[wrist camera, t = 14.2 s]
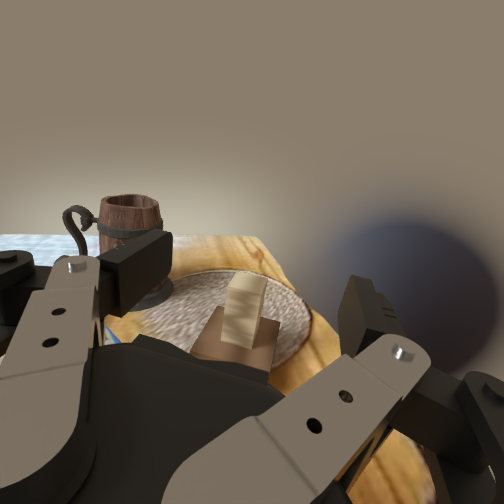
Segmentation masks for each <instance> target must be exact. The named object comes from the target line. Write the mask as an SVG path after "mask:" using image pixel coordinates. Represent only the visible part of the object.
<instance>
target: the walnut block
mask: <svg viewBox="0 0 504 504" xmlns="http://www.w3.org/2000/svg"><path fill="white" fill-rule="evenodd" d="M224 309H225V307H221V306H217V307H216V309H215V310H214V312H213V314H212V315H211V317H210V318H209V320H208V322H207V323H206V325H205V327H204V328H203V330H202V332H201V333H200V335H199V336H198V338H197V340H196V341H195V343H194V345H193V346H192V348H191V349H190V355H192V356H194V357H196V358H198V359H203V360H215V361H228V362H237V363H241V364H244V365H247V366H251V367H254V368H258V369H261V370H264V371H268V372H269V375H270V370H271V365H272V361H273V356H274V351H275V346H276V341H277V337H278V332H279V327H280V322H279V321H275V320H271V319H267V318H263V317H260V322H259V328H258V331H257V334H256V337H255V340H254V343H253V346H252V349H249V348H245V347H242V346H238V345H235V344H231V343H228V342H224V341H221V334H222V326H223V317H224ZM268 379H269V377H268ZM267 383H268V382H267Z"/></svg>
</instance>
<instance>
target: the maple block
mask: <svg viewBox="0 0 504 504" xmlns="http://www.w3.org/2000/svg"><path fill="white" fill-rule="evenodd" d="M267 281H268V278H265V277H261V276H256V275H252V274H248V273H244V272H240V271H237V272H236V274H235V275H234V277H233V278H232V280H231V281H230V283H229V284H228V286H227V293H226V301H225V309H224V317H223V326H222V334H221V341H224V342H228V343H231V344H235V345H238V346H242V347H245V348H249V349H252V346H253V343H254V340H255V337H256V334H257V331H258V328H259V322H260V317H261V312H262V307H263V302H264V296H265V291H266V286H267Z"/></svg>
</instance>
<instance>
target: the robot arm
mask: <svg viewBox="0 0 504 504" xmlns="http://www.w3.org/2000/svg"><path fill="white" fill-rule="evenodd" d="M172 249H173V236H172V233H171V232H167V231H163V230H158V229H153V230H151V231H149V232H147V233H145V234H144V235H142V236H140V237H136V238H132V239H129V240H127V241H125V242H123V243H122V244H120V245H118V246H116V247H115V248H112V249H110V250H108V251H107V252H105V253H103V254H101V255H99V256H97V257H92V256H84V255H81V256H71V257H67V258H63V259H61V260H59V261H57V262H56V263H55V264H54V265H53V267H51V266H35V265H34V260H33V255H32V254H31V253H29V252H27V251H22V250H8V251H0V357H1V356H3V355H4V354H5V356H4V358H3V361H2V363H1V365H0V504H353V503H352V501H351V500H350V498H349V496H348V495H347V494H348V493H349V491H350V490H351V488H352V487H353V485H354V484H355V482H356V481H357V479H358V477H359V476H360V474H361V473H362V471H363V470H364V469H365V467H366V466H367V464H368V463H369V462H370V460H371V459H372V458H373V456H374V455H375V454H376V452H377V451H378V450H379V448H380V447H381V446H382V444H383V443H384V442H385V440H386V439H387V437H388V436H389V435H390V433H391V432H392V431H393V429H395V430H397V431H399V432H400V433H402V434H404V435H406V436H407V437H409V438H411V439H412V440H414V441H416V442H417V443H419V444H421V445H423V448H424V451H425V455H426V458H427V462H428V465H429V469H430V473H431V476H432V480H433V483H434V487H435V490H436V494H437V497H438V501H439V504H504V382H503V381H501V380H499V379H497V378H495V377H493V376H491V375H488V374H486V373H482V372H477V371H471V372H468V373H466V375H465V376H464V378H463V379H462V381H461V380H458V379H456V378H454V377H452V376H450V375H448V374H446V373H443V372H441V371H439V370H437V369H435V368H433V367H432V366H430V364H431V361H430V358H429V356H428V355H427V353H426V352H425V351H424V350H423V349H422V348H421V347H420V346H419V345H417V344H416V343H414V342H413V341H411V340H409V339H407V338H406V336H405V334H404V332H403V329H402V327H401V325H400V323H399V320H398V319H397V316H396V314H395V312H394V309H393V307H392V305H391V302H390V301H389V300H388V299H387V298H386V297H385V296H384V295H383V294H381V293H377V292H376V291H375V289H374V286H373V283H372V281H371V279H368V278H363V277H360V276H355V275H351V276H350V278H349V281H348V284H347V287H346V290H345V292H344V295H343V298H342V301H341V304H340V307H339V311H338V329H339V339H340V348H341V356H340V357H339V358H338V359H336V360H335V361H334V362H332V363H331V364H330V365H328V366H327V367H325V368H324V369H323V370H321V371H320V372H319V373H317V374H316V375H315V376H313V377H312V378H311V379H309V380H308V381H306V382H305V383H304V384H302V385H301V386H300V387H298V388H297V389H296V390H294V391H293V392H292V393H290V394H289V395H287V396H285V395H283V394H282V393H281V392H280V391H278V390H277V389H276V388H274V387H273V386H271V385H269V384H268V383H267V382H268V377H269V372H268V371H264V370H261V369H258V368H254V367H251V366H247V365H244V364H241V363H237V362H228V361H215V360H203V359H198V358H196V357H194V356H192V355H190V354H189V353H187V352H185V351H183V350H182V349H180V348H178V347H176V346H175V345H173V344H171V343H169V342H166V341H162V340H159V339H155V338H152V337H149V336H145V335H142V334H139V335H138V336H137V337H136V338H135V339H134V341H133V342H132V343H115V344H108V345H105V327H106V323H105V317H106V316H107V315H108V314H110V315H113V316H117V317H120V318H122V317H123V316H124V315H125V314H126V313H127V312H128V311H130V310H131V309H132V308H133V307H134V306H135V305H136V304H137V303H138V302H139V301H141V300H142V299H143V298H144V297H145V296H146V295H147V294H148V293H149V292H150V291H152V290H153V289H154V288H155V287H156V286H157V285H158V284H159V283H160V282H161V281H162V280H164V279H165V278H166V277H167V276H168V274H169V273H170V270H171V267H172ZM489 465H490V467H491V469H492V471H493V473H494V476H495V480H496V482H495V480H494V478H493V476H492V474H491V472H490V470H489V467H488V466H489Z"/></svg>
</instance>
